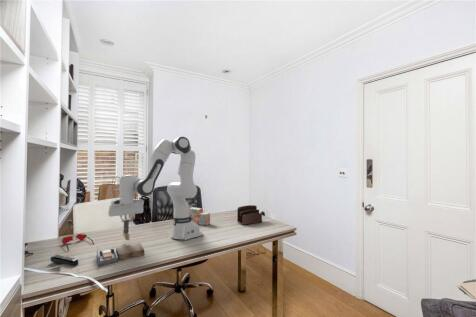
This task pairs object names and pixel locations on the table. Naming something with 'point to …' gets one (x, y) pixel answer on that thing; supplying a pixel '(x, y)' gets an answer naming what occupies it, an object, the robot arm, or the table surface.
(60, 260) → the portable electronic device stand
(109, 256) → the tile
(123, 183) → the robot arm
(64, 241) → the glasses
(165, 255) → the table surface
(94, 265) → the table surface
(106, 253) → the tile
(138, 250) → the brown square slab
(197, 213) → the stack of blocks
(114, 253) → the box
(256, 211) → the brown lidded box
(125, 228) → the grey block with handle
